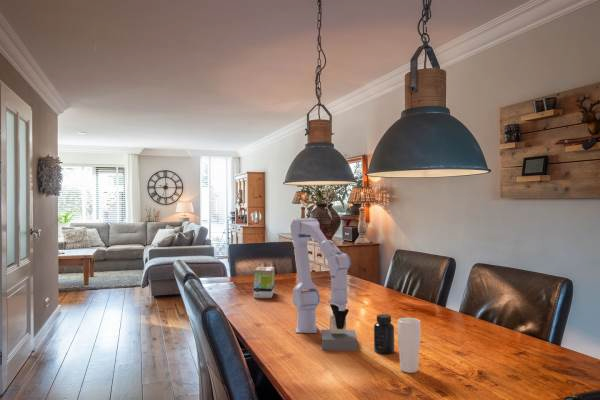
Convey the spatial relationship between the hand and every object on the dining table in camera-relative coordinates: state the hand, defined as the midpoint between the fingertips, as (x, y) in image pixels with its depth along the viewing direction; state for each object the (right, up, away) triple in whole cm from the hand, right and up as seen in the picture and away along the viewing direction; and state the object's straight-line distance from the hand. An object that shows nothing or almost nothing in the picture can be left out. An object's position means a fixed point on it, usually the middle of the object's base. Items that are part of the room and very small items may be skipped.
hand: (338, 326), depth 157 cm
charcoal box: (0, -7, 0) cm, 7 cm away
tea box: (-33, -7, +85) cm, 91 cm away
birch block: (0, -2, 0) cm, 2 cm away
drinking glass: (+19, -7, -24) cm, 31 cm away
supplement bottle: (+15, -7, -7) cm, 17 cm away
